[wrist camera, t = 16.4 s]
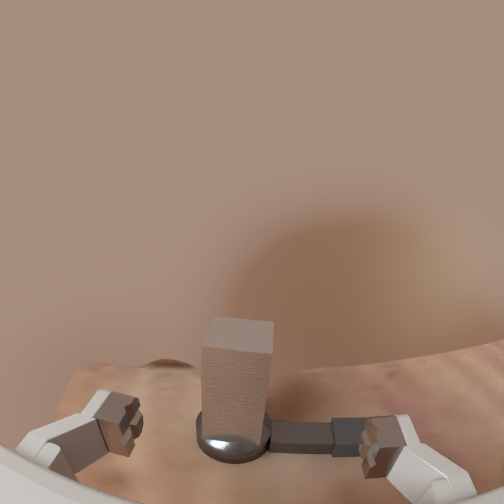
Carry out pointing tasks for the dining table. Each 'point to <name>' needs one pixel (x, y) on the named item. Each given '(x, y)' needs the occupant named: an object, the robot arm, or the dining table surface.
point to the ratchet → (290, 440)
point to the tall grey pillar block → (235, 379)
